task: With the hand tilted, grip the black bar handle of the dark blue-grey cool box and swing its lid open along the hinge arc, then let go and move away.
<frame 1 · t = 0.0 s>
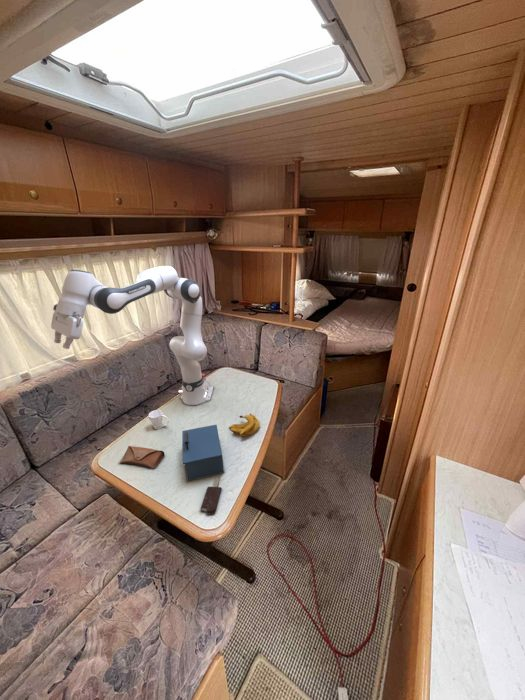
hand: (61, 345, 104), 54 cm above the table, tool tilted 30°, fingers open, 8 cm apart
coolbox: (204, 458, 121), on the table
ice cream bar: (213, 495, 104), on the table
sunglasses case: (142, 459, 122), on the table
cup: (160, 426, 143), on the table
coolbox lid: (200, 438, 117), point 12 cm above the table, hinge at 0.0°
banana: (244, 428, 140), on the table
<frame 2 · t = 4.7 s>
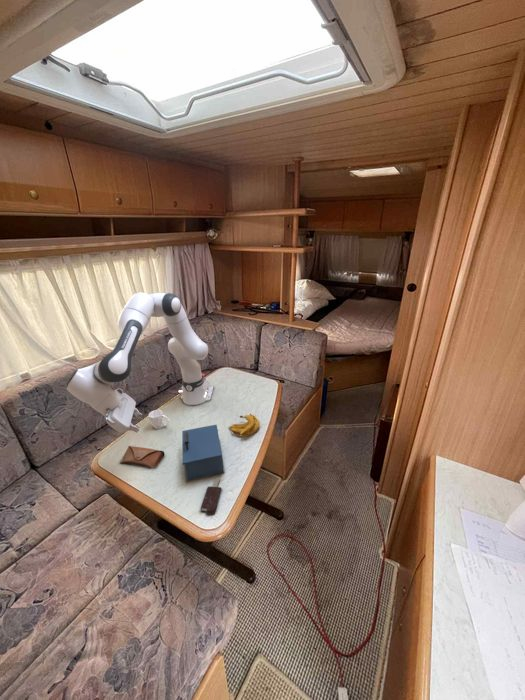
hand: (140, 423, 107), 24 cm above the table, tool tilted 40°, fingers open, 8 cm apart
nothing on the table moved.
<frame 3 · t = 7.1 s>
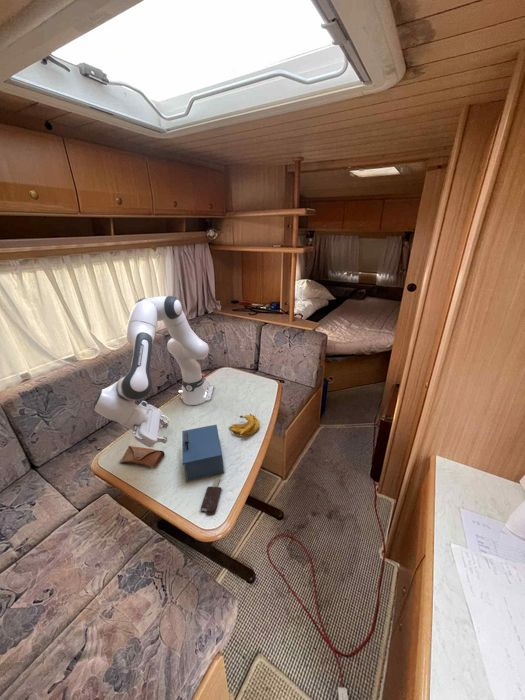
hand: (166, 433, 111), 18 cm above the table, tool tilted 45°, fingers open, 8 cm apart
nothing on the table moved.
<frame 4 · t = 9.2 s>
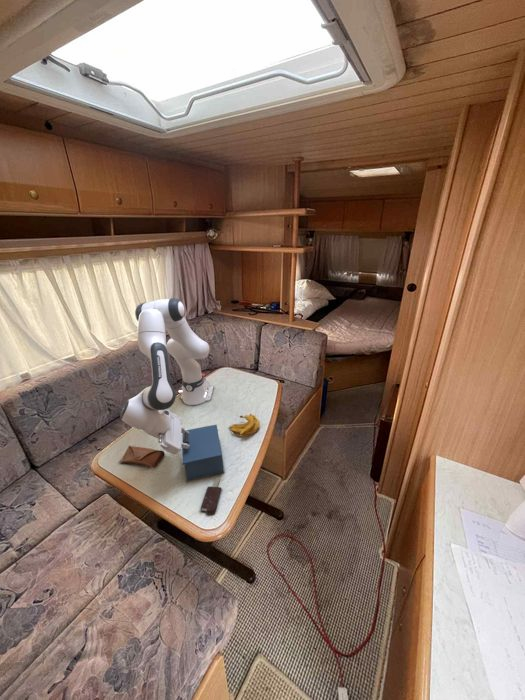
hand: (188, 440, 115), 12 cm above the table, tool tilted 45°, fingers closed on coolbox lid, 6 cm apart
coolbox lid: (200, 438, 117), point 12 cm above the table, hinge at 0.0°, touching gripper
everything else where it was.
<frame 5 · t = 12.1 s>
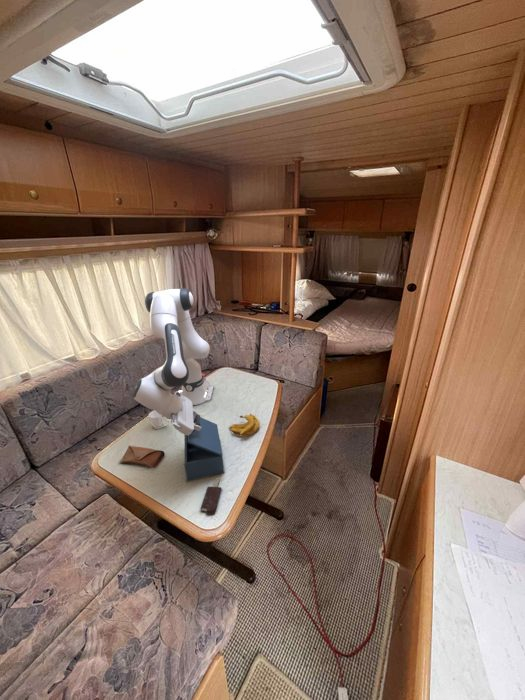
hand: (199, 423, 114), 20 cm above the table, tool tilted 45°, fingers closed on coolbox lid, 6 cm apart
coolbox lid: (206, 428, 116), point 16 cm above the table, hinge at 39.8°, touching gripper
everything else where it was.
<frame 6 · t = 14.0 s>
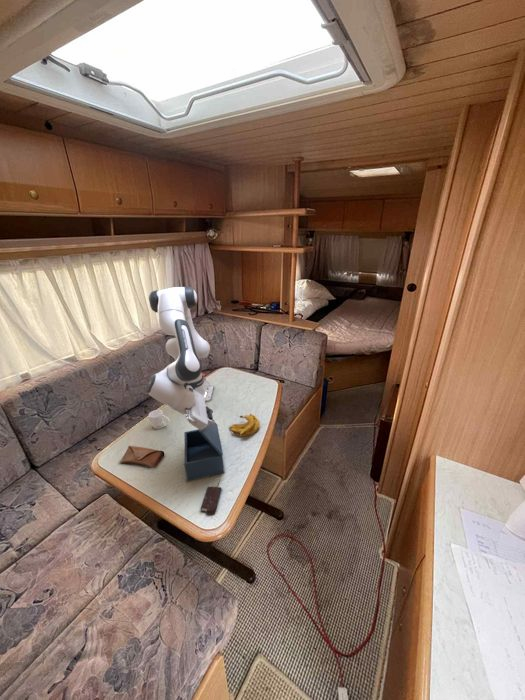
hand: (212, 417, 114), 21 cm above the table, tool tilted 45°, fingers closed on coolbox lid, 6 cm apart
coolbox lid: (213, 425, 116), point 17 cm above the table, hinge at 63.0°, touching gripper
everything else where it was.
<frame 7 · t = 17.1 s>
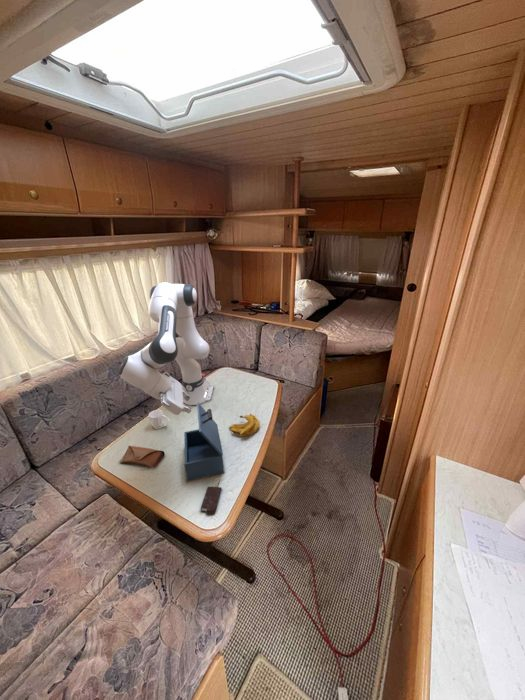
hand: (189, 404, 110), 29 cm above the table, tool tilted 45°, fingers open, 8 cm apart
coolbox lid: (213, 425, 116), point 17 cm above the table, hinge at 62.8°
everything else where it was.
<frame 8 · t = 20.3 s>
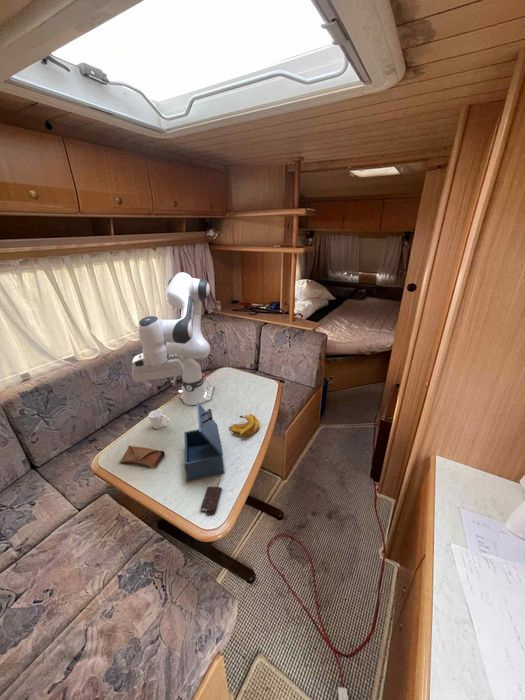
hand: (161, 386, 115), 33 cm above the table, tool pointing down, fingers open, 8 cm apart
nothing on the table moved.
at the end: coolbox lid at +63° (first picture: +0°); the gripper is holding nothing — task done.
